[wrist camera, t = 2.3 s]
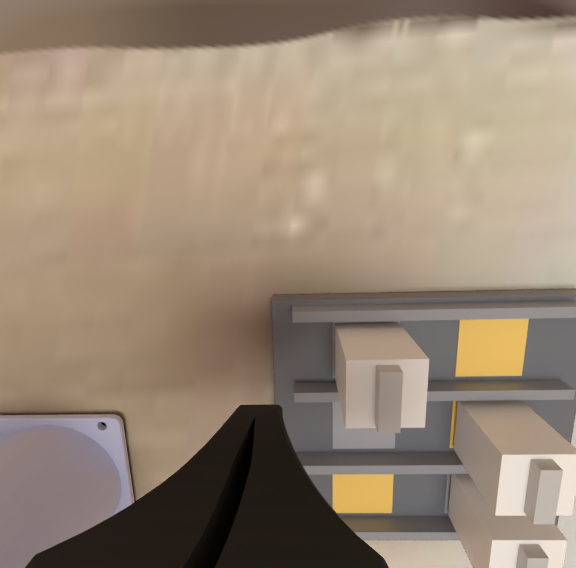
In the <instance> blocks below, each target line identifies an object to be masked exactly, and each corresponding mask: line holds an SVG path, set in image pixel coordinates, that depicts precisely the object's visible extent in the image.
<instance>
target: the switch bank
mask: <svg viewBox="0 0 576 568" xmlns="http://www.w3.org/2000/svg"><path fill="white" fill-rule="evenodd" d="M271 305H272V331H273V357H274V383H275V405H280V406H281V407H282V410H283V420H284V424H285V427H286V430H287V433H288V436H289V438H290V441H291V443H292V446H293V448H294V450H295V452H296V454H297V456H298V458H299V460H300V462H301V464H302V466H303V467H304V469H305V471H306V472H307V474H308V476H309V477H310V479H311V480H312V482H313V483H314V485H315V486H316V488H317V489H318V491H319V492H320V493H321V495H322V496H323V497H324V499H325V500H326V501H327V502H328V504H329V505H330V506H331V507H332V508H333V509H334V511H335V512H336V513H337V514H338V515H339V517H340V518H341V519H342V520H343V521H344V522H345V523H346V524H347V525H348V526H349V527H350V528H351V529H352V530H353V531H354V532H355V534H356V535H357V536H359V537H360V538H361V539H362V540H460V539H459V537H458V535H457V533H456V531H455V528H454V526H453V524H452V522H451V520H450V518H449V516H448V512H449V500H450V488H451V476H452V474H469V473H468V472H467V470H466V468H465V467H464V465H463V464H462V462H461V460H460V459H459V457H458V456H457V454H456V452H455V451H454V440H455V428H456V416H457V404H458V401H488V400H522V401H523V402H524V403H525V404H526V405H528V406H529V407H530V408H531V409H532V410H533V411H534V412H535V413H537V414H538V415H539V416H540V417H541V418H542V419H543V420H544V421H546V422H547V423H548V424H549V425H550V426H551V427H552V428H553V429H555V430H556V431H557V432H558V433H559V434H560V435H561V436H562V437H563V438H565V439H566V440H567V441H568V442H569V443H570V444H571V439H572V432H573V426H574V420H575V414H576V289H544V290H493V291H443V292H392V293H342V294H291V295H273V297H272V301H271ZM375 323H400V324H401V326H402V327H403V328H404V329H405V330H406V332H407V333H408V334H409V335H410V336H411V338H412V339H413V340H414V341H415V342H416V344H417V345H418V346H419V347H420V348H421V350H422V351H423V352H424V353H425V354H426V356H427V357H428V358H429V372H428V388H427V404H426V420H425V428H401V429H400V433H378V431H377V429H376V428H345V423H344V418H343V414H342V409H341V404H340V399H339V395H338V390H337V385H336V380H335V324H375ZM558 518H559V516H556V518H555V525H556V526H557V524H558Z"/></svg>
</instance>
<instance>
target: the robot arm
mask: <svg viewBox="0 0 576 568" xmlns="http://www.w3.org/2000/svg"><path fill="white" fill-rule="evenodd" d="M101 422H104V423H105V424H106V425H107V426H104V425H103V424H102V423H101ZM0 568H389V567H388V565H387V563H386V561H385V560H384V558H383V557H382V556H381V555H379V554H378V553H377V552H376V551H375V550H374V549H372V548H371V547H370V546H369V545H368V544H367V543H365V542H364V541H363V540H362V539H361V538H360V537H359V536H357V535H356V534H355V532H354V531H353V530H352V529H351V528H350V527H349V526H348V525H347V524H346V523H345V522H344V521H343V520H342V519H341V518H340V517H339V515H338V514H337V513H336V512H335V511H334V509H333V508H332V507H331V506H330V505H329V504H328V502H327V501H326V500H325V499H324V497H323V496H322V495H321V493H320V492H319V491H318V489H317V488H316V486H315V485H314V483H313V482H312V480H311V479H310V477H309V476H308V474H307V472H306V471H305V469H304V467H303V466H302V464H301V462H300V460H299V458H298V456H297V454H296V452H295V450H294V448H293V446H292V443H291V441H290V438H289V436H288V433H287V430H286V427H285V424H284V420H283V410H282V407H281V406H280V405H240V406H239V407H238V408H237V409H236V410H235V412H234V413H233V414H232V415H231V416H230V418H229V419H228V420H227V421H226V422H225V423H224V425H223V426H222V427H221V428H220V429H219V430H218V431H217V433H216V434H215V435H214V436H213V437H212V438H211V439H210V440H209V441H208V442H207V443H206V445H205V446H204V447H203V448H202V449H201V450H199V451H198V452H197V453H196V454H195V455H194V456H193V457H192V458H191V459H190V460H189V461H188V462H187V463H186V464H185V465H184V466H183V467H182V468H180V469H179V470H178V471H177V472H176V473H174V474H173V475H172V476H171V477H169V478H168V479H167V480H166V481H164V482H163V483H162V484H160V485H159V486H157V487H156V488H155V489H153V490H152V491H150V492H149V493H147V494H146V495H144V496H143V497H141V498H140V499H139V500H137V501H136V502H134V495H133V488H132V481H131V474H130V467H129V460H128V453H127V446H126V439H125V432H124V425H123V420H122V419H121V417H120V416H118V415H115V414H77V415H0Z"/></svg>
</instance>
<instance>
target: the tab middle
mask: <svg viewBox="0 0 576 568" xmlns="http://www.w3.org/2000/svg"><path fill="white" fill-rule="evenodd" d="M454 451H455V452H456V454H457V456H458V457H459V459H460V460H461V462H462V464H463V465H464V467H465V468H466V470H467V472H468V473H469V475H470V476H471V478H472V480H473V481H474V483H475V484H476V486H477V488H478V489H479V491H480V492H481V494H482V495H483V497H484V499H485V500H486V502H487V503H488V505H489V507H490V508H491V510H492V511H493V513H494V515H495V516H527V517H528V518H529V519H530V521H531V522H532V524H555V518H556V516H572V511H573V505H574V500H575V494H576V448H575V447H574V446H572V445H571V444H570V443H569V442H568V441H567V440H566V439H565V438H563V437H562V436H561V435H560V434H559V433H558V432H557V431H556V430H555V429H553V428H552V427H551V426H550V425H549V424H548V423H547V422H546V421H544V420H543V419H542V418H541V417H540V416H539V415H538V414H537V413H535V412H534V411H533V410H532V409H531V408H530V407H529V406H528V405H526V404H525V403H524V402H523V401H522V400H488V401H458V404H457V416H456V428H455V440H454Z"/></svg>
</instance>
